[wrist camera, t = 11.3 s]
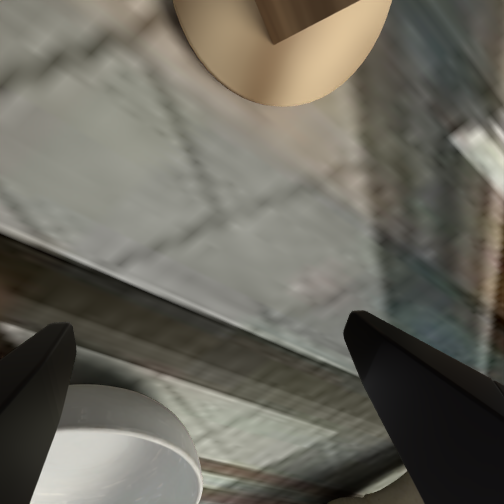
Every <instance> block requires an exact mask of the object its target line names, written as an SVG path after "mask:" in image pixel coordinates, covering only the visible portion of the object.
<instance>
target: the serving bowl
mask: <svg viewBox="0 0 504 504" xmlns="http://www.w3.org/2000/svg"><path fill="white" fill-rule="evenodd" d="M202 490H203V476H202V471H201V466H200V462H199V457H198V454H197V450H196V448H195V445H194V442H193V440H192V438H191V436H190V434H189V432H188V431H187V429H186V428H185V426H184V425H183V424H182V422H181V421H180V420H179V419H178V418H177V416H176V415H175V414H173V413H172V412H171V411H170V410H169V409H168V408H166V407H165V406H163V405H162V404H160V403H159V402H157V401H155V400H154V399H152V398H149V397H147V396H145V395H143V394H140V393H138V392H134V391H131V390H127V389H123V388H118V387H112V386H105V385H93V384H76V385H69V386H68V390H67V395H66V399H65V403H64V407H63V411H62V415H61V418H60V422H59V425H58V428H57V431H56V433H55V436H54V439H53V442H52V444H51V447H50V450H49V452H48V455H47V458H46V461H45V463H44V466H43V469H42V472H41V474H40V477H39V480H38V482H37V485H36V488H35V491H34V493H33V496H32V499H31V502H30V504H198V503H199V501H200V498H201V495H202Z"/></svg>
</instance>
